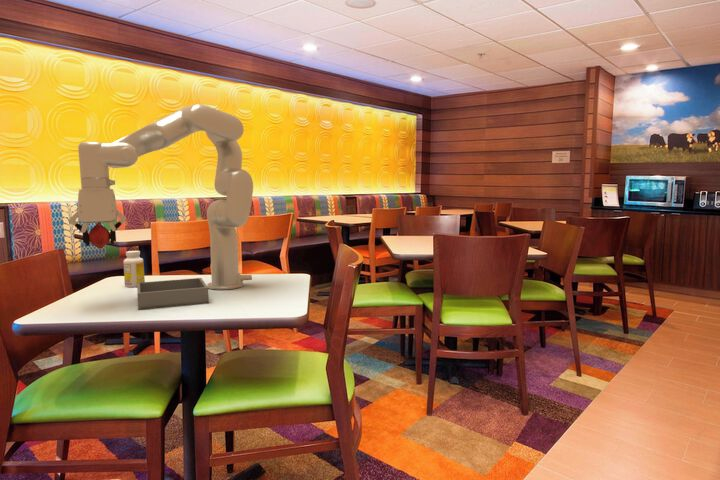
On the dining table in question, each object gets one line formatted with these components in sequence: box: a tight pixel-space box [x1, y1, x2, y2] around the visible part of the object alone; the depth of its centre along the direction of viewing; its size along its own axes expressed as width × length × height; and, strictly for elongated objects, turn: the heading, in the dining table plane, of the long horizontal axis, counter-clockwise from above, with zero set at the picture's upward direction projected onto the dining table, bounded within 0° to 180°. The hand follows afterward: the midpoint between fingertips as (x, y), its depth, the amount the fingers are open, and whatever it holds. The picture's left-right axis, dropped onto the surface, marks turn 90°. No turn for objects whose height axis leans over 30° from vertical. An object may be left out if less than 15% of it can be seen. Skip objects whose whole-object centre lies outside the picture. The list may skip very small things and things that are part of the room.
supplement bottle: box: [123, 250, 146, 288], centre depth 177 cm, size 7×7×13 cm
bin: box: [136, 277, 210, 311], centre depth 154 cm, size 20×18×5 cm
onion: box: [88, 222, 111, 250], centre depth 145 cm, size 6×6×8 cm
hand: (100, 244), depth 145 cm, fingers closed on onion, 5 cm apart
